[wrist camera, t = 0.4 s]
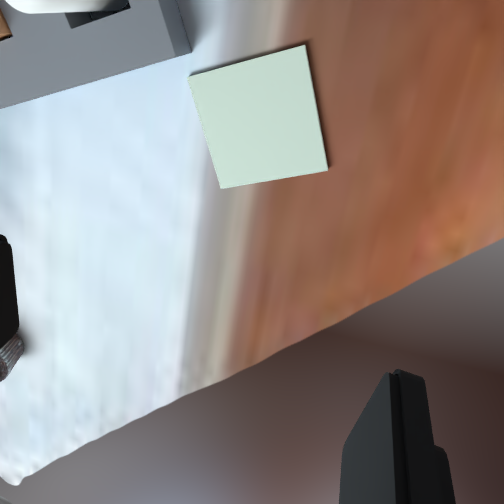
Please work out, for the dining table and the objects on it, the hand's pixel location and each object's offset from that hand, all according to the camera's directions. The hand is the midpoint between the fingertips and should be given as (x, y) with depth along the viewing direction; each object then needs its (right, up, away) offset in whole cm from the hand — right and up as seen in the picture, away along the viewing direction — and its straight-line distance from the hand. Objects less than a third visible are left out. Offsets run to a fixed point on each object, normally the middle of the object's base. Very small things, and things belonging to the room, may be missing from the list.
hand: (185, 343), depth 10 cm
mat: (+2, +15, +33) cm, 37 cm away
